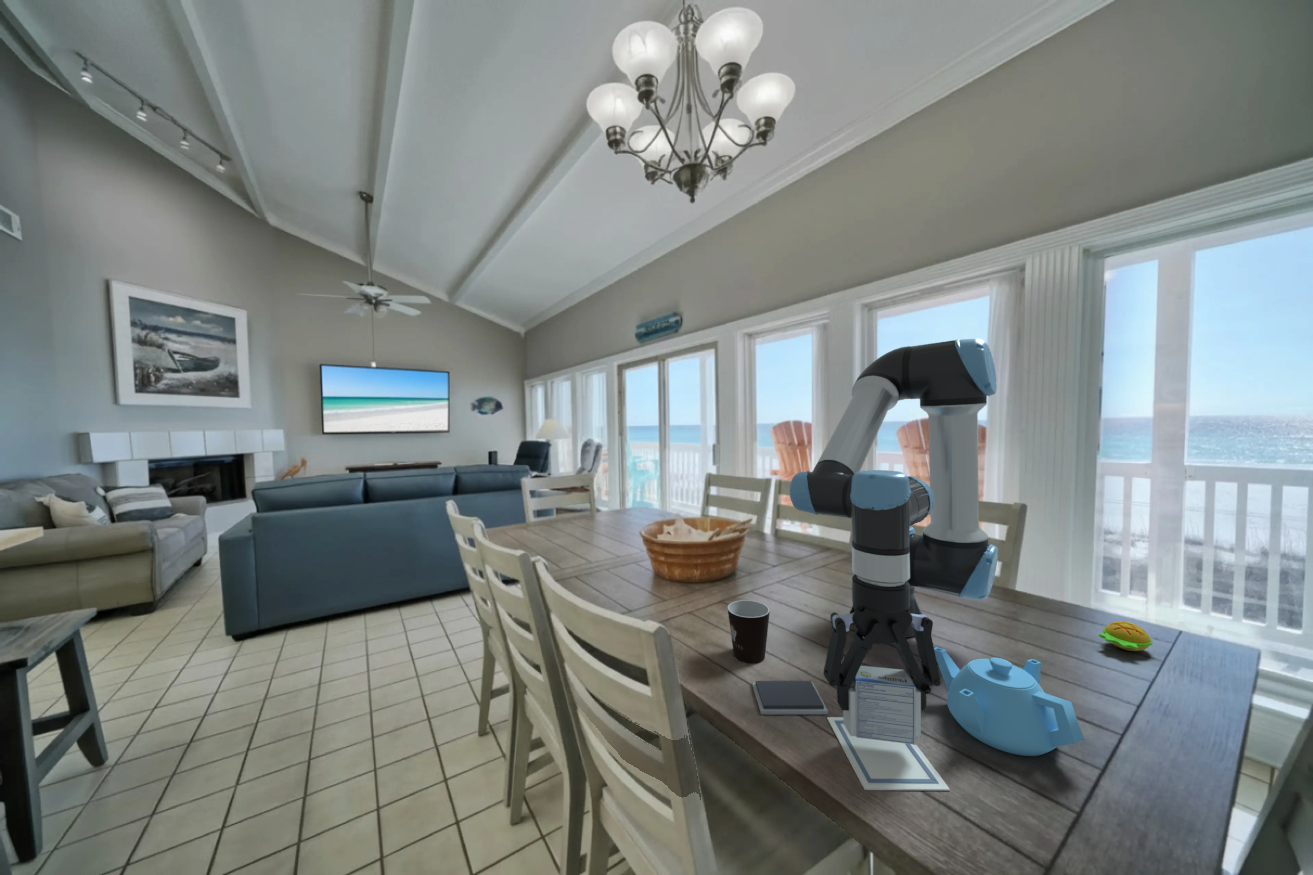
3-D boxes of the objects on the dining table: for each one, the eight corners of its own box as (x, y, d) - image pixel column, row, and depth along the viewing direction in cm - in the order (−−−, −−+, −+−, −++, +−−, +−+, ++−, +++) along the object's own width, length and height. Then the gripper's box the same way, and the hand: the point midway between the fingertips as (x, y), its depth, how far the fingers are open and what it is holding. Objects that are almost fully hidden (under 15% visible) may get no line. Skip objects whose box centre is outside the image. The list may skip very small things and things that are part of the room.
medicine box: (906, 725, 65) (906, 668, 65) (916, 747, 61) (916, 686, 61) (849, 718, 67) (849, 663, 67) (855, 739, 63) (855, 679, 63)
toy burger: (1158, 651, 89) (1159, 625, 89) (1139, 664, 85) (1139, 637, 85) (1112, 637, 95) (1112, 612, 95) (1091, 648, 91) (1091, 623, 91)
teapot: (955, 750, 64) (955, 678, 64) (931, 691, 78) (931, 631, 78) (1089, 778, 59) (1090, 700, 58) (1038, 709, 73) (1038, 645, 72)
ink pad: (812, 685, 81) (812, 678, 81) (827, 714, 73) (827, 707, 73) (752, 685, 81) (752, 679, 81) (761, 714, 73) (761, 707, 73)
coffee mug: (771, 668, 86) (770, 618, 86) (727, 664, 88) (726, 616, 88) (768, 639, 98) (767, 595, 97) (729, 637, 99) (728, 593, 99)
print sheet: (895, 718, 71) (895, 716, 71) (949, 790, 57) (949, 788, 57) (827, 718, 72) (827, 716, 72) (864, 789, 58) (864, 787, 58)
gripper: (939, 568, 67) (939, 713, 68) (798, 569, 68) (800, 712, 68) (972, 586, 59) (972, 749, 60) (814, 587, 60) (816, 748, 61)
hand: (881, 729), depth 64 cm, fingers closed on medicine box, 8 cm apart
